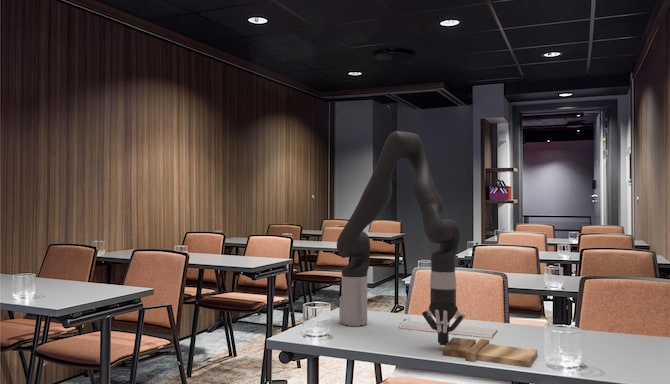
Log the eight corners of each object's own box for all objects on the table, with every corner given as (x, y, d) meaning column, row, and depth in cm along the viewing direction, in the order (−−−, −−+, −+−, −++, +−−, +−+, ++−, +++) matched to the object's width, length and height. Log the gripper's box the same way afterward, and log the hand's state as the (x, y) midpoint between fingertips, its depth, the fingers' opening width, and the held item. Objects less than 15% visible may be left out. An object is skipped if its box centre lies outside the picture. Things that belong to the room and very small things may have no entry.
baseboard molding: (490, 341, 171) (497, 333, 182) (490, 332, 171) (497, 325, 182) (398, 331, 185) (409, 324, 196) (398, 322, 185) (409, 316, 196)
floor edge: (465, 360, 148) (465, 352, 148) (480, 346, 163) (480, 338, 163) (528, 369, 140) (528, 360, 140) (538, 353, 155) (538, 345, 155)
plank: (442, 348, 153) (467, 351, 150) (452, 337, 166) (475, 339, 163) (442, 357, 153) (467, 360, 150) (452, 345, 166) (475, 348, 163)
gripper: (417, 286, 160) (417, 344, 160) (461, 289, 154) (461, 350, 154) (426, 283, 167) (426, 339, 167) (468, 286, 161) (468, 344, 160)
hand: (443, 344), depth 160 cm, fingers closed
